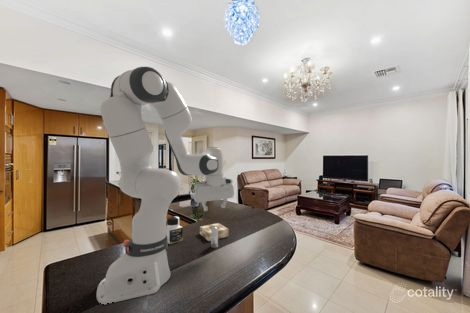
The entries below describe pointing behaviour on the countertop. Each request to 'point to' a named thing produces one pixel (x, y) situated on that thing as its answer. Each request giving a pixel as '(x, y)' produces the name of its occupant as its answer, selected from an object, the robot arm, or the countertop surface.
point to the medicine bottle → (174, 230)
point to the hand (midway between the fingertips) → (214, 209)
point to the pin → (214, 237)
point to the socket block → (206, 231)
